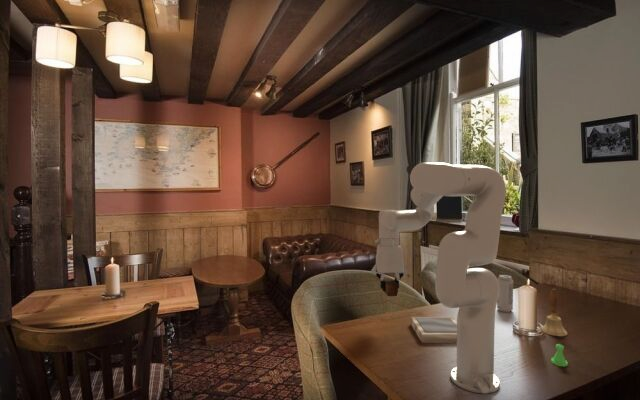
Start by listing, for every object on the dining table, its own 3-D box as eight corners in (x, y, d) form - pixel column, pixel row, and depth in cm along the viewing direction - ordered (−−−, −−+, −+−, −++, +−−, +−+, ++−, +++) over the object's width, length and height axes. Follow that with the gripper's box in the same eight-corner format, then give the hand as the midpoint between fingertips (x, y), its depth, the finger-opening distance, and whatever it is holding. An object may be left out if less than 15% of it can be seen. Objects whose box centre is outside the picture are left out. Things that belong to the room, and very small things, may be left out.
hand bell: (538, 332, 133) (539, 289, 132) (543, 325, 139) (544, 284, 138) (565, 338, 127) (566, 294, 126) (569, 331, 133) (570, 288, 132)
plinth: (468, 342, 124) (468, 333, 124) (422, 342, 124) (422, 333, 124) (451, 324, 140) (452, 316, 140) (410, 324, 140) (410, 316, 140)
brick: (398, 296, 132) (398, 283, 132) (387, 296, 132) (387, 284, 132) (391, 289, 142) (391, 277, 142) (381, 289, 142) (381, 277, 142)
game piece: (549, 363, 110) (549, 343, 110) (552, 358, 113) (553, 339, 113) (565, 368, 107) (566, 348, 107) (569, 363, 110) (569, 343, 110)
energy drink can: (499, 307, 159) (500, 273, 158) (514, 310, 155) (515, 276, 154) (494, 310, 155) (495, 276, 154) (510, 314, 151) (510, 278, 150)
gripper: (368, 244, 133) (368, 293, 133) (413, 243, 133) (414, 292, 133) (365, 241, 140) (366, 288, 141) (408, 240, 140) (409, 287, 141)
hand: (389, 289), depth 137 cm, fingers closed on brick, 4 cm apart
